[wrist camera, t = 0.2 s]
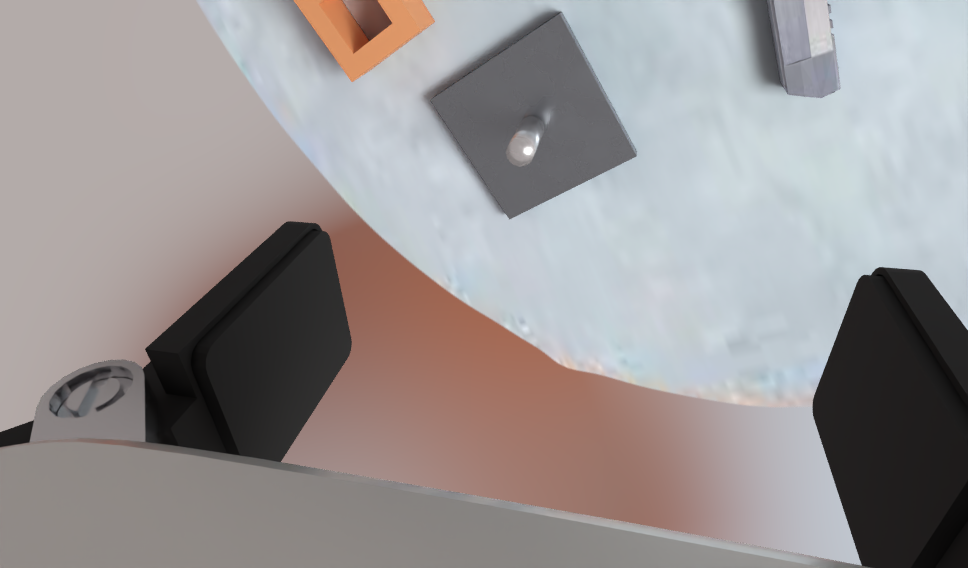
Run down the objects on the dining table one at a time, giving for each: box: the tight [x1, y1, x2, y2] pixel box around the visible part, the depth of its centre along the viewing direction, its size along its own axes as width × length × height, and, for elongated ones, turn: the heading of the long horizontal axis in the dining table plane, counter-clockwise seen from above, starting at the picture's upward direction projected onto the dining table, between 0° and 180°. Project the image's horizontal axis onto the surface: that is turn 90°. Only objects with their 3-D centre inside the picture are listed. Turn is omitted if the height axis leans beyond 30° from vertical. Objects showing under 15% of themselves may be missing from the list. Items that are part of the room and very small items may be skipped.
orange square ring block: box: [294, 0, 435, 82], centre depth 43 cm, size 7×7×4 cm
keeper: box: [430, 12, 637, 219], centre depth 44 cm, size 12×12×6 cm
